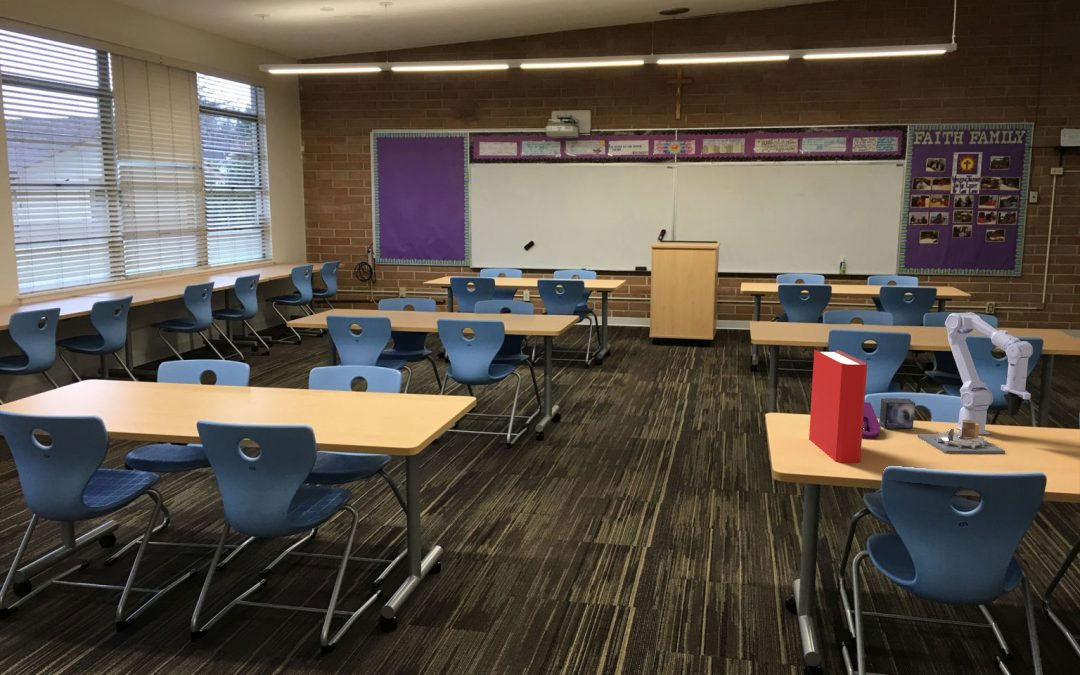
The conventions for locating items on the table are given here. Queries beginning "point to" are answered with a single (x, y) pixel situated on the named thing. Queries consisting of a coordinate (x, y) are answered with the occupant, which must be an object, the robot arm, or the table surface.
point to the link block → (968, 428)
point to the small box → (897, 413)
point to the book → (838, 405)
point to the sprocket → (959, 439)
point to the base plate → (964, 450)
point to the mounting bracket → (870, 422)
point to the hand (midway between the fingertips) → (1013, 415)
